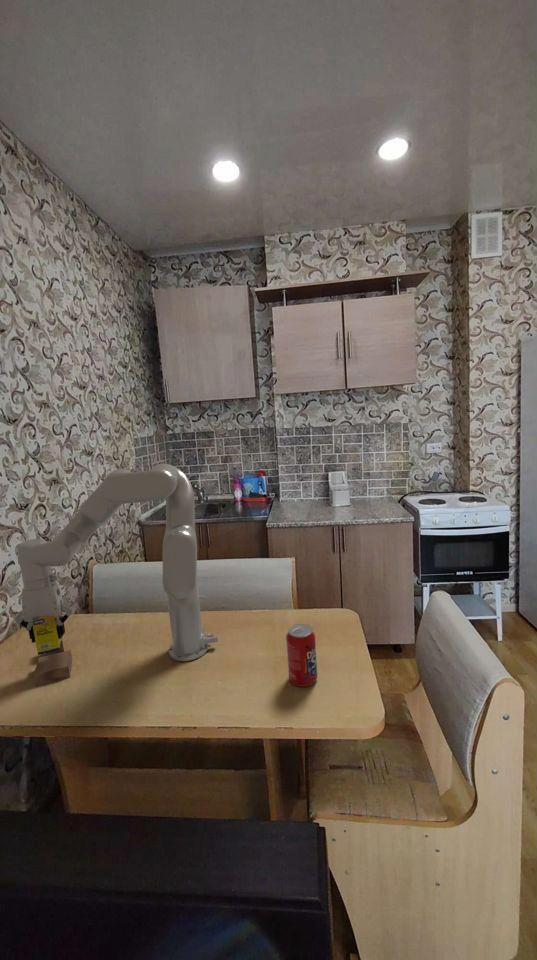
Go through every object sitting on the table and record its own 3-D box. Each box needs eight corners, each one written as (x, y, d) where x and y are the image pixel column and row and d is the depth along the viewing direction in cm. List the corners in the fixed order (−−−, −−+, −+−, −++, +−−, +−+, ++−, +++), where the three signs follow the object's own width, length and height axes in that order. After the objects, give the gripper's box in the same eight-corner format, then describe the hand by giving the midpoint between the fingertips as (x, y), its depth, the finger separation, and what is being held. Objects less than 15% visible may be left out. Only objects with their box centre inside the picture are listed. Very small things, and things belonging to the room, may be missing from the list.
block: (63, 647, 140) (60, 634, 139) (64, 654, 135) (62, 640, 134) (46, 653, 137) (43, 639, 136) (47, 660, 133) (44, 646, 132)
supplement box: (60, 649, 123) (54, 615, 121) (37, 655, 121) (31, 620, 119) (62, 639, 128) (56, 607, 126) (40, 645, 126) (34, 611, 124)
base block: (72, 661, 132) (70, 650, 131) (70, 678, 124) (68, 666, 123) (40, 669, 129) (38, 657, 128) (36, 687, 121) (33, 674, 120)
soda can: (284, 675, 118) (281, 626, 115) (309, 667, 120) (306, 619, 118) (296, 692, 110) (292, 641, 108) (322, 683, 113) (320, 633, 110)
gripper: (73, 572, 126) (82, 627, 129) (11, 580, 123) (21, 636, 126) (66, 583, 119) (76, 640, 122) (0, 591, 115) (11, 650, 119)
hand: (48, 637), depth 124 cm, fingers closed on supplement box, 6 cm apart
